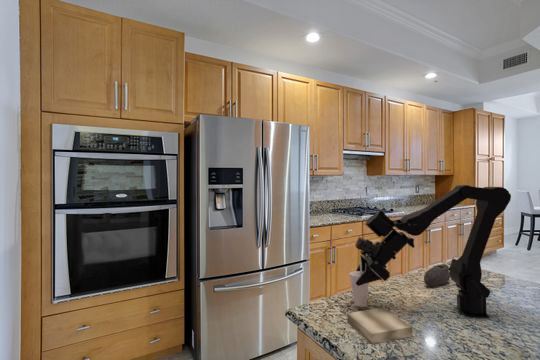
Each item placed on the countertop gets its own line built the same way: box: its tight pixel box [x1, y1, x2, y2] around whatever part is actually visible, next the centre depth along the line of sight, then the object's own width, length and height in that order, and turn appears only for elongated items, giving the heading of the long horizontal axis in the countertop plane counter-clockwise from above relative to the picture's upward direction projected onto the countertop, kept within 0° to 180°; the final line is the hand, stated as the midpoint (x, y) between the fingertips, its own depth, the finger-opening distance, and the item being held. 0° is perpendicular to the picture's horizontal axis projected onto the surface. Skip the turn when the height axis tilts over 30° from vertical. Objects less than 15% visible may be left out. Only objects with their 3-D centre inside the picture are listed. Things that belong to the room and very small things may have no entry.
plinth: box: [346, 307, 413, 345], centre depth 78 cm, size 12×12×2 cm
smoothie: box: [348, 259, 370, 307], centre depth 92 cm, size 6×6×14 cm
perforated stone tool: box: [423, 263, 451, 288], centre depth 111 cm, size 15×5×7 cm, turn 119°
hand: (355, 281), depth 92 cm, fingers closed on smoothie, 6 cm apart
